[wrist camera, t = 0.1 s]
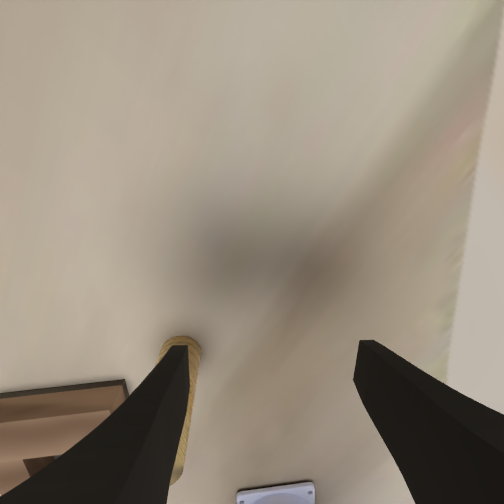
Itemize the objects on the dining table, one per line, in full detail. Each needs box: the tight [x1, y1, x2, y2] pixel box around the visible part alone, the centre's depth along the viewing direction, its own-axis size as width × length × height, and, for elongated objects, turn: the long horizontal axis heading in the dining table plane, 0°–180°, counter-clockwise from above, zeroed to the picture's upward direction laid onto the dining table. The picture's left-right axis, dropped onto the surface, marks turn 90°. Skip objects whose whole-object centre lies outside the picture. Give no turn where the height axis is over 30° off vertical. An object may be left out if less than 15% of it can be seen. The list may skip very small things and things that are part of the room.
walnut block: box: [0, 380, 129, 496], centre depth 23 cm, size 12×10×3 cm
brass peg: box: [156, 336, 201, 486], centre depth 18 cm, size 3×3×9 cm
